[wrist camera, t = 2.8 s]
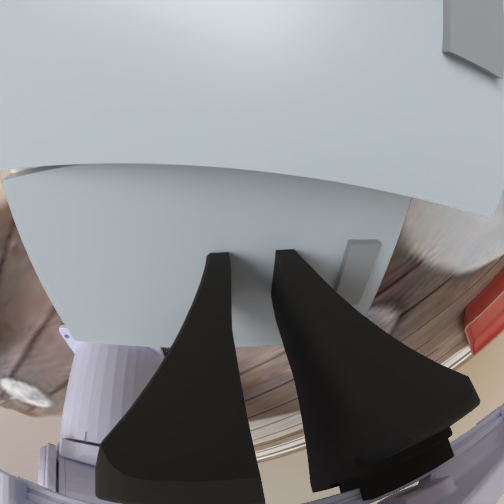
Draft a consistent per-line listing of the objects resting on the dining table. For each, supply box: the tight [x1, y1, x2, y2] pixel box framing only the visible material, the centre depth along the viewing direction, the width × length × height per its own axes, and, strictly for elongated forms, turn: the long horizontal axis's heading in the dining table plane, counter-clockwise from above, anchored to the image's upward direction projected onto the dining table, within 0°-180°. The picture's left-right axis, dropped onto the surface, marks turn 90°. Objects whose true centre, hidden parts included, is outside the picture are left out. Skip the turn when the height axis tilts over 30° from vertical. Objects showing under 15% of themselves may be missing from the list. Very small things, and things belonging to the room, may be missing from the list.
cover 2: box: [2, 163, 412, 348], centre depth 10 cm, size 9×14×1 cm, turn 88°
